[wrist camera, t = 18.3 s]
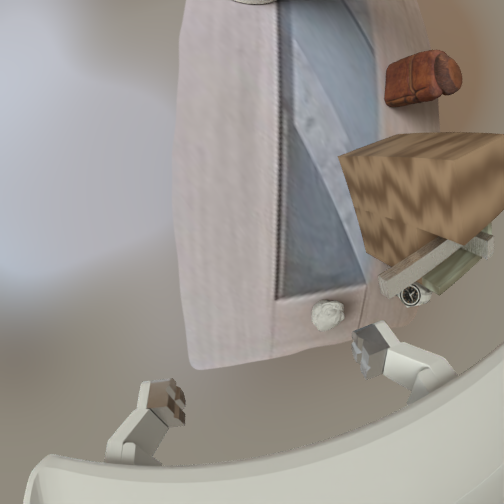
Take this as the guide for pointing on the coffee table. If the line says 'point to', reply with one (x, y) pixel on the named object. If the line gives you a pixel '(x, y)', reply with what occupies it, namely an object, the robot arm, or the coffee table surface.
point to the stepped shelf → (426, 196)
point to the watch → (415, 295)
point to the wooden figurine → (421, 78)
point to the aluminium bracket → (430, 261)
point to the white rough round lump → (327, 314)
